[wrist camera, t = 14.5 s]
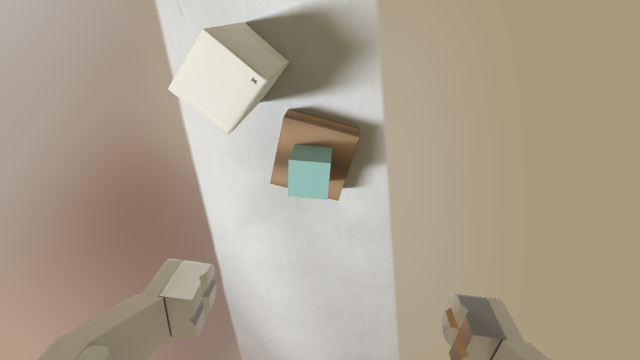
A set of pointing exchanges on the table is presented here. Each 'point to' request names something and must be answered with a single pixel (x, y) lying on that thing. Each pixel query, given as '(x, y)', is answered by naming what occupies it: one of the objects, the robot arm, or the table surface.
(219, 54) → the supplement box
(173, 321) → the robot arm
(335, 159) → the walnut block
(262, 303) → the table surface
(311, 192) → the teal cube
